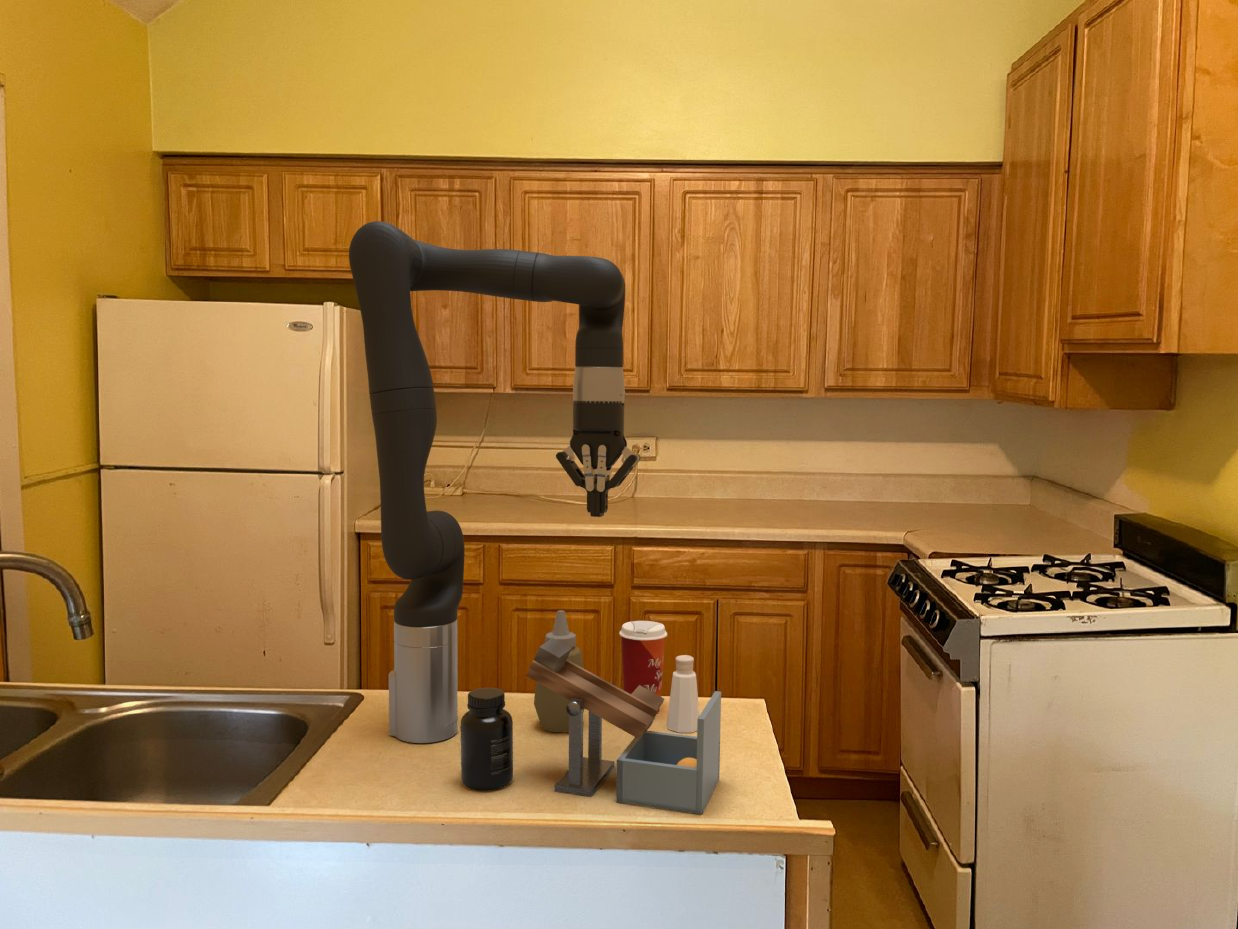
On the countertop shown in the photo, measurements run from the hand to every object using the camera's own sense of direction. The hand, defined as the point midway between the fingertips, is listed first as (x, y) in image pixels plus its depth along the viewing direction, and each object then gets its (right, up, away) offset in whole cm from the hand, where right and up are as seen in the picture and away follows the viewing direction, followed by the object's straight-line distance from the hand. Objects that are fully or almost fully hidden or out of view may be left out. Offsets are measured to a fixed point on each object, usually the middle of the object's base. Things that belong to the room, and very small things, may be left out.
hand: (597, 516), depth 139 cm
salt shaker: (+13, -33, +6) cm, 36 cm away
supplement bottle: (-14, -34, -15) cm, 40 cm away
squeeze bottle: (-6, -33, +5) cm, 34 cm away
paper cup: (+7, -32, +13) cm, 36 cm away
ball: (+12, -32, -18) cm, 39 cm away
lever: (0, -23, -12) cm, 26 cm away
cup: (+10, -35, -17) cm, 40 cm away
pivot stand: (-1, -34, -14) cm, 37 cm away
